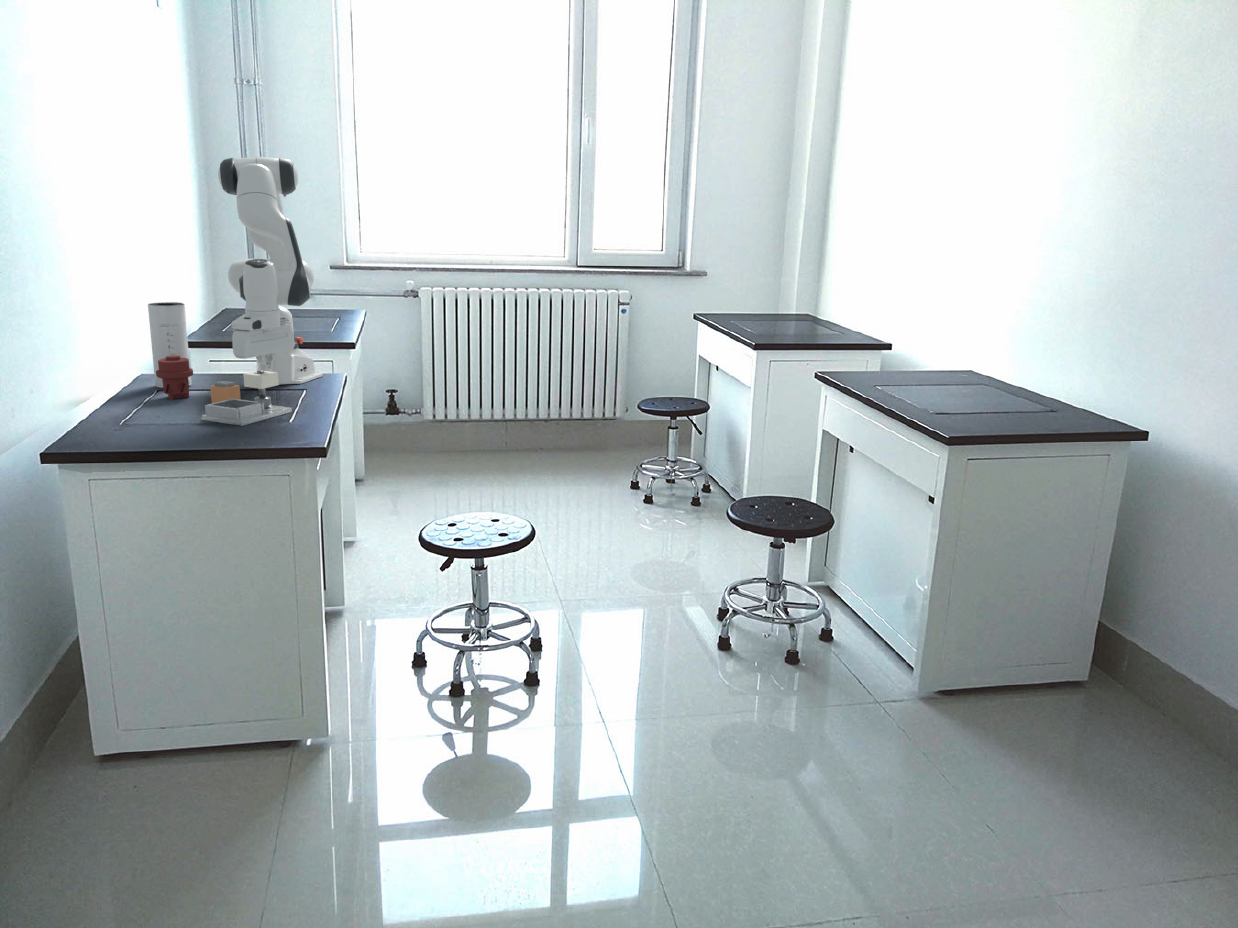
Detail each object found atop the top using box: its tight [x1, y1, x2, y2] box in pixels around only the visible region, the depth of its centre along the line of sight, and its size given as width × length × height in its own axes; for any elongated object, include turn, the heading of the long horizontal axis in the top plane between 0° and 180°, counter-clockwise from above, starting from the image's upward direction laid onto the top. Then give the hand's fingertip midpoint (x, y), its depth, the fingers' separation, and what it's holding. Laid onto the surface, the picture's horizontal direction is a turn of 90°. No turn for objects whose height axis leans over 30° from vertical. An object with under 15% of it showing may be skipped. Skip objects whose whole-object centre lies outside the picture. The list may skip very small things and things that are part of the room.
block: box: [209, 380, 242, 404], centre depth 277 cm, size 5×6×7 cm
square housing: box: [242, 370, 280, 389], centre depth 270 cm, size 6×6×4 cm
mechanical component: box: [156, 355, 194, 400], centre depth 286 cm, size 12×10×10 cm
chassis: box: [201, 370, 293, 427], centre depth 266 cm, size 19×14×12 cm
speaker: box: [147, 301, 192, 389], centre depth 300 cm, size 11×10×26 cm
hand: (266, 370), depth 268 cm, fingers closed
